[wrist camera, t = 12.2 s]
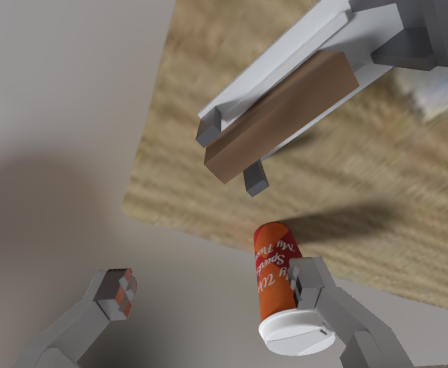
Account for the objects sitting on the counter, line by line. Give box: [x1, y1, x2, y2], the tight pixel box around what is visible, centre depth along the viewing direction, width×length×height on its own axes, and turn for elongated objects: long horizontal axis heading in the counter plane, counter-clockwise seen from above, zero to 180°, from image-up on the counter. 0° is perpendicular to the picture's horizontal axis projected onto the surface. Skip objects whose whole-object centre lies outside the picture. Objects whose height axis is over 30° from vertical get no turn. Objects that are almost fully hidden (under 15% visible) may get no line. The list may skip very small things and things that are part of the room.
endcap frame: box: [196, 0, 448, 197], centre depth 19 cm, size 9×20×9 cm, turn 131°
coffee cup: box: [254, 222, 335, 356], centre depth 29 cm, size 8×8×15 cm
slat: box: [204, 50, 360, 184], centre depth 21 cm, size 3×14×5 cm, turn 131°
